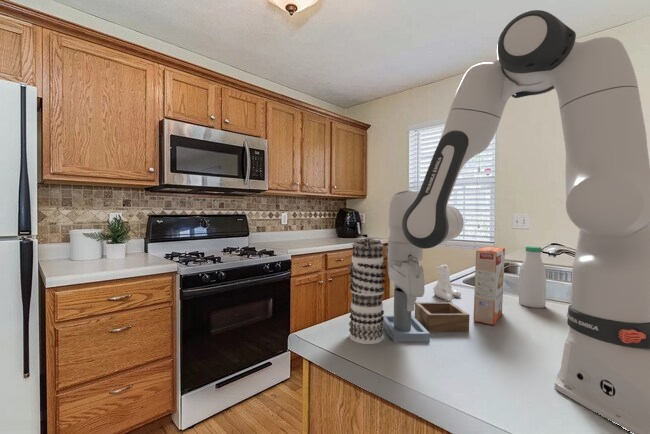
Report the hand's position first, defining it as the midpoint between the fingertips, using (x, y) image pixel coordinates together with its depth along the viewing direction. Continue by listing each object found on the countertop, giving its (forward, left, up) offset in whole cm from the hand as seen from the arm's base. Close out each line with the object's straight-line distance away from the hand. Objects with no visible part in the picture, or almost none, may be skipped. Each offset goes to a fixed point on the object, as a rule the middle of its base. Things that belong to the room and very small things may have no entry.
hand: (404, 304), depth 84 cm
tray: (0, 0, -7) cm, 7 cm away
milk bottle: (+22, -51, -7) cm, 56 cm away
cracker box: (+10, -29, -7) cm, 32 cm away
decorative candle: (-4, +11, -7) cm, 13 cm away
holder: (+5, -12, -7) cm, 15 cm away
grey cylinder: (0, 0, -6) cm, 7 cm away
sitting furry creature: (+32, -25, -7) cm, 41 cm away
